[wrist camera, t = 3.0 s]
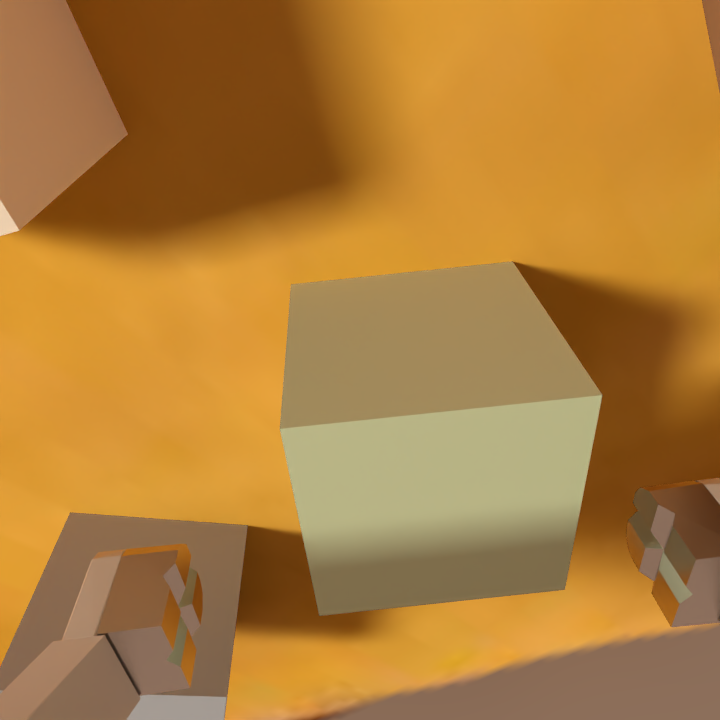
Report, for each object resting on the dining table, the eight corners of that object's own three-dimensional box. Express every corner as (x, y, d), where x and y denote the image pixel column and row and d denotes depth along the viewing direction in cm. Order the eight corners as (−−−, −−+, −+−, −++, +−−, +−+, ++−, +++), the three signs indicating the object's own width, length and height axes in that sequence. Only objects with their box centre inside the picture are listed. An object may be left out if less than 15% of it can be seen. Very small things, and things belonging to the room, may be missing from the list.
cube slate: (247, 523, 17) (226, 696, 13) (236, 620, 20) (215, 789, 16) (71, 510, 17) (-11, 690, 12) (84, 613, 19) (20, 788, 15)
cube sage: (511, 259, 13) (602, 394, 9) (500, 427, 16) (564, 589, 12) (291, 282, 13) (279, 428, 9) (318, 447, 16) (319, 616, 12)
